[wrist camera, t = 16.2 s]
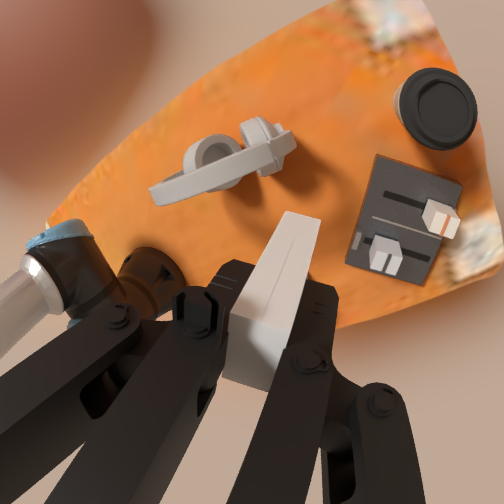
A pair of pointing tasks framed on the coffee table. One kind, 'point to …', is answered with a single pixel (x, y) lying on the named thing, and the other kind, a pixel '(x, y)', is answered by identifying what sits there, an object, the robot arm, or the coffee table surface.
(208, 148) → the headphones
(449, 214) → the block
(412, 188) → the console
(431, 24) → the coffee table surface
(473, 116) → the coffee cup
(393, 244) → the block
